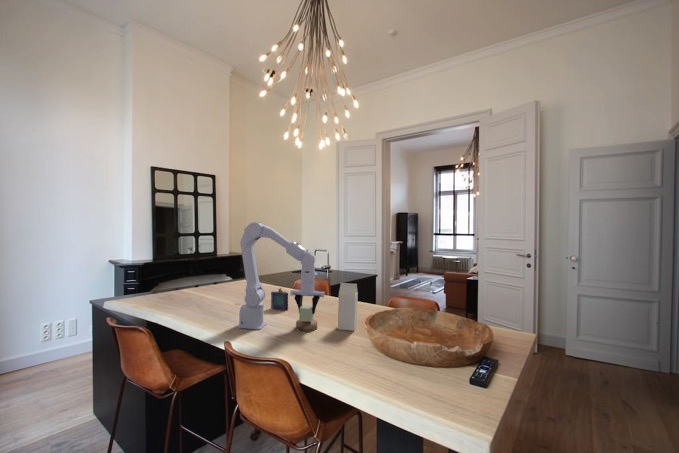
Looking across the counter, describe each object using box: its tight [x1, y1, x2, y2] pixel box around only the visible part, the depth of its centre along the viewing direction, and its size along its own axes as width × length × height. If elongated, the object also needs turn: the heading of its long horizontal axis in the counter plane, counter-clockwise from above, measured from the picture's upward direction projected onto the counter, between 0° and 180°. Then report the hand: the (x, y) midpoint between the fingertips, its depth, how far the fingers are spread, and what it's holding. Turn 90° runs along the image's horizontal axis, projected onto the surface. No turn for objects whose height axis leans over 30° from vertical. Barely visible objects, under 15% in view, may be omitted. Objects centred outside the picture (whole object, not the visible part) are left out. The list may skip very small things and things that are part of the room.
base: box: [295, 318, 318, 332], centre depth 131 cm, size 9×9×2 cm
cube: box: [298, 304, 315, 321], centre depth 131 cm, size 5×5×5 cm
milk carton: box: [337, 282, 359, 332], centre depth 132 cm, size 7×7×19 cm
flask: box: [270, 287, 289, 312], centre depth 158 cm, size 9×3×11 cm, turn 76°
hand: (307, 313), depth 131 cm, fingers closed on cube, 5 cm apart
